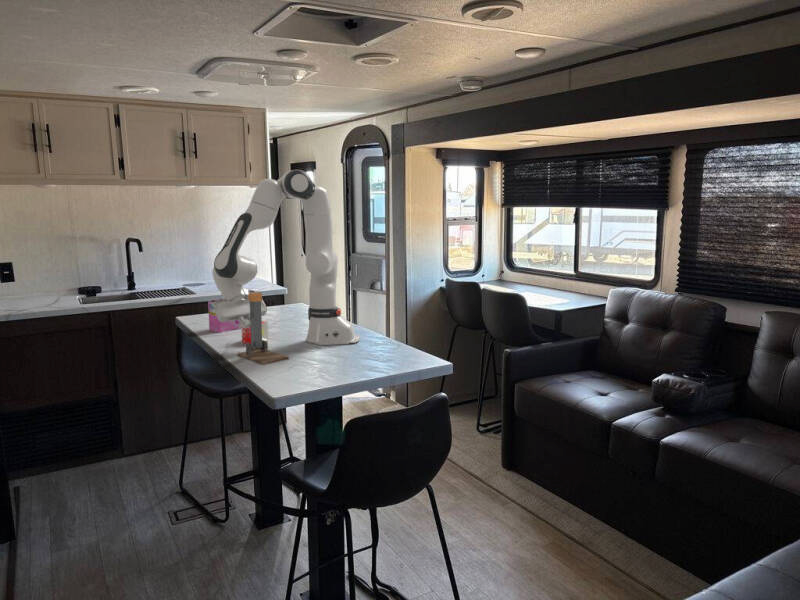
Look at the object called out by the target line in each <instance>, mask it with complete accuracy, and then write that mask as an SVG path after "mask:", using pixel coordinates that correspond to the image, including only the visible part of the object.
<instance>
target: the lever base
mask: <svg viewBox="0 0 800 600" xmlns="http://www.w3.org/2000/svg"><path fill="white" fill-rule="evenodd" d="M268 342H269V341H268V340H267V341H265V340H262V344H263V349H260V350H254V351H253V344H251V343H245V351H240V352H237V356H239V357H242V358H244V359H247V360H249V359H250V361H252V360H253V361H252V362H255V361H256V363H258V364H260V363H261V364H260V365H263V364H264V365H268V364H272V363H271V362H273V363H276V361H277V362H281V360H282V361H285V359H286V360H289V359H290V357H289V356H287V355H285V354H281V353H278V352H275V351H272V350H269V347H268V346H269V343H268ZM267 363H268V364H267Z"/></svg>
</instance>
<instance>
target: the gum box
mask: <svg viewBox="0 0 800 600" xmlns="http://www.w3.org/2000/svg"><path fill="white" fill-rule="evenodd" d="M216 300H217V299H214V300H208V301H207V308H208V326H209V327H208V328H209V329H208V331H210V330H212V331H211V332H214V331H216V332H215V333H218V332H220V333H224V332H223V331H225V332H229V331H228V330H230V331H234V330H233V329H236V330H239V329H238V328H241V329H242V326H241V324H242V323H240V322H239V320H234V321H228V322H220V321H219V320H218V318H217V315H216V311H215V309H214V307H213V302H215V301H216ZM218 300H223V298H220V299H218ZM244 320H245V321H246V322H248V321H249V320H247V319H244Z"/></svg>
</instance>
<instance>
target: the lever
mask: <svg viewBox="0 0 800 600" xmlns="http://www.w3.org/2000/svg"><path fill="white" fill-rule="evenodd" d="M248 300H249V301H250V325H251V344H253V351H254V350H260V349H263V344H262V321H263V320H262V316H261V301H262V300H263V293H262V292H258V291H257V292H251V293H248Z"/></svg>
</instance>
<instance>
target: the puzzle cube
mask: <svg viewBox="0 0 800 600" xmlns="http://www.w3.org/2000/svg"><path fill="white" fill-rule="evenodd" d="M268 322H269V321H263V320H262V340H265V341H266V340H267V341H268V340H269V325H268V324H269V323H268ZM241 326H242V328H241V343H242V342H243V343H242V344H246V343H251V327H248V328H245V326H244V325H243V324H241Z"/></svg>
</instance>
